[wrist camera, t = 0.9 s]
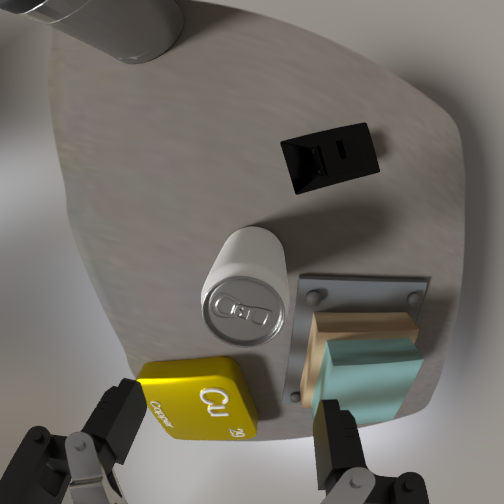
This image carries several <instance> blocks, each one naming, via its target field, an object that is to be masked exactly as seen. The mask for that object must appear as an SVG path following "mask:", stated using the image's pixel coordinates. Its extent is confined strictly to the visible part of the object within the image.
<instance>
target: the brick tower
mask: <svg viewBox="0 0 504 504" xmlns="http://www.w3.org/2000/svg"><path fill="white" fill-rule="evenodd" d="M426 287H427V282H426V281H425V280H424V279H391V278H358V277H332V276H308V275H299V279H298V288H297V297H296V305H295V314H294V321H293V329H292V337H291V344H290V351H289V358H288V365H287V371H286V378H285V384H284V390H283V396H282V404H302V408H308V407H312V414H313V421H314V417H315V414H316V411H317V408H318V405H319V401H320V400H325V399H337V400H338V402H339V406H340V410H349V411H350V412H351V414H352V415H353V416H354V417H355V420H356V424H365V423H373V422H380V421H387V420H392V419H393V418H394V416H395V414H396V413H397V411H398V409H399V407H400V406H401V404H402V402H403V400H404V398H405V397H406V395H407V393H408V391H409V389H410V387H411V385H412V383H413V381H414V379H415V377H416V375H417V373H418V371H419V369H420V366H421V364H422V362H423V360H424V359H423V357H422V356H421V354H420V352H419V351H418V349H417V348H416V346H415V345H414V343H415V341H416V338H417V335H418V333H419V328H418V327H417V326H416V324H415V323H416V320H417V317H418V314H419V311H420V307H421V304H422V301H423V297H424V294H425V290H426Z"/></svg>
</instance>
